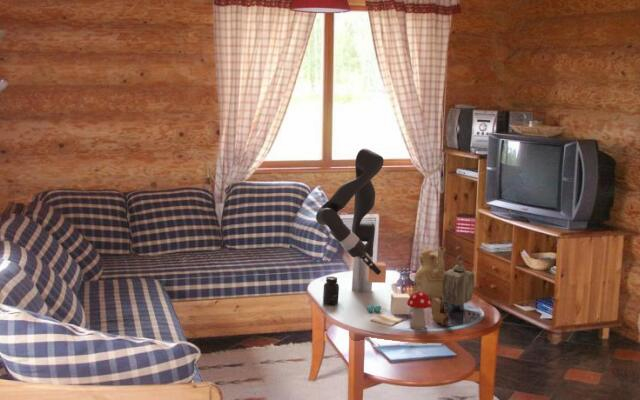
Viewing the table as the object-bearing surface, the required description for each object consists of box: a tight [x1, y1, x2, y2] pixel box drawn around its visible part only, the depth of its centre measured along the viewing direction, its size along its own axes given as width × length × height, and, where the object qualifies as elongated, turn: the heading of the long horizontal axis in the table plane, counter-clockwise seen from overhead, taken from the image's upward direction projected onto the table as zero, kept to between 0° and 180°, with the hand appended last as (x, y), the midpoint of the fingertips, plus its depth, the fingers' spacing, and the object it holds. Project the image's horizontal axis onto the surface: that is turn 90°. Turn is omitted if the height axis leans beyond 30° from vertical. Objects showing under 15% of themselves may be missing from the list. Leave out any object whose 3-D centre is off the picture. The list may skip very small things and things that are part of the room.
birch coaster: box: [370, 313, 404, 327], centre depth 311 cm, size 10×10×1 cm
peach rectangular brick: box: [366, 261, 387, 284], centre depth 319 cm, size 7×5×8 cm
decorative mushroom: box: [407, 291, 432, 330], centre depth 303 cm, size 10×9×15 cm
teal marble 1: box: [366, 304, 375, 313], centre depth 322 cm, size 3×3×3 cm
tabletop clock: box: [441, 254, 475, 312], centre depth 328 cm, size 14×9×25 cm, turn 145°
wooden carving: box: [429, 298, 450, 326], centre depth 311 cm, size 16×5×10 cm, turn 17°
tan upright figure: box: [413, 246, 446, 300], centre depth 349 cm, size 17×20×25 cm
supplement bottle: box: [322, 276, 340, 307], centre depth 330 cm, size 7×7×12 cm
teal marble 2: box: [374, 304, 382, 313], centre depth 322 cm, size 3×3×3 cm
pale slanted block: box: [390, 293, 411, 315], centre depth 322 cm, size 7×5×8 cm
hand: (377, 271), depth 319 cm, fingers closed on peach rectangular brick, 5 cm apart
